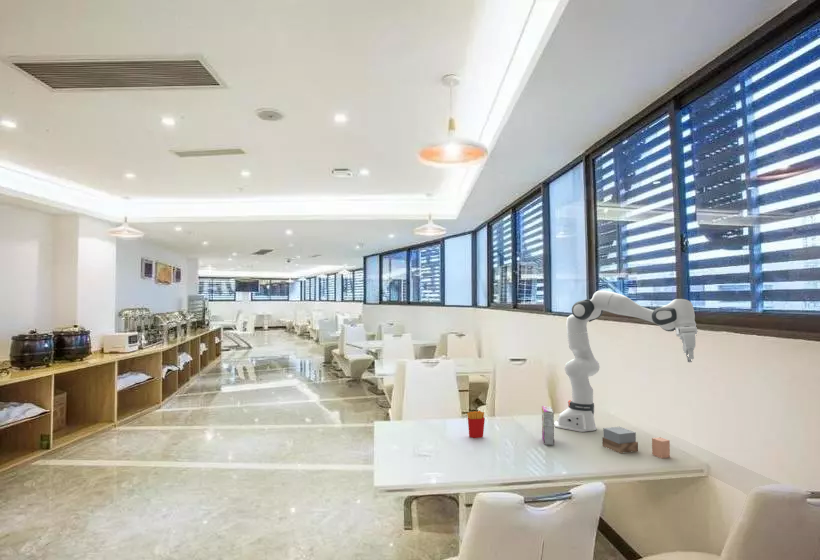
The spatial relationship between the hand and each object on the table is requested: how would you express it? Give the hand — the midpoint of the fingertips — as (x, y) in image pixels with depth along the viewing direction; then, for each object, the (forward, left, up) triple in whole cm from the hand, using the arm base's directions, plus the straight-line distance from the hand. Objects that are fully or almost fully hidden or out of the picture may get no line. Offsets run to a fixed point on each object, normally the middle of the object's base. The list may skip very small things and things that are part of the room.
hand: (690, 360), depth 206 cm
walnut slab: (-31, -4, -44) cm, 54 cm away
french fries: (-99, -17, -44) cm, 109 cm away
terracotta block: (-14, -7, -44) cm, 46 cm away
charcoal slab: (-31, -4, -39) cm, 50 cm away
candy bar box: (-64, -9, -44) cm, 78 cm away
